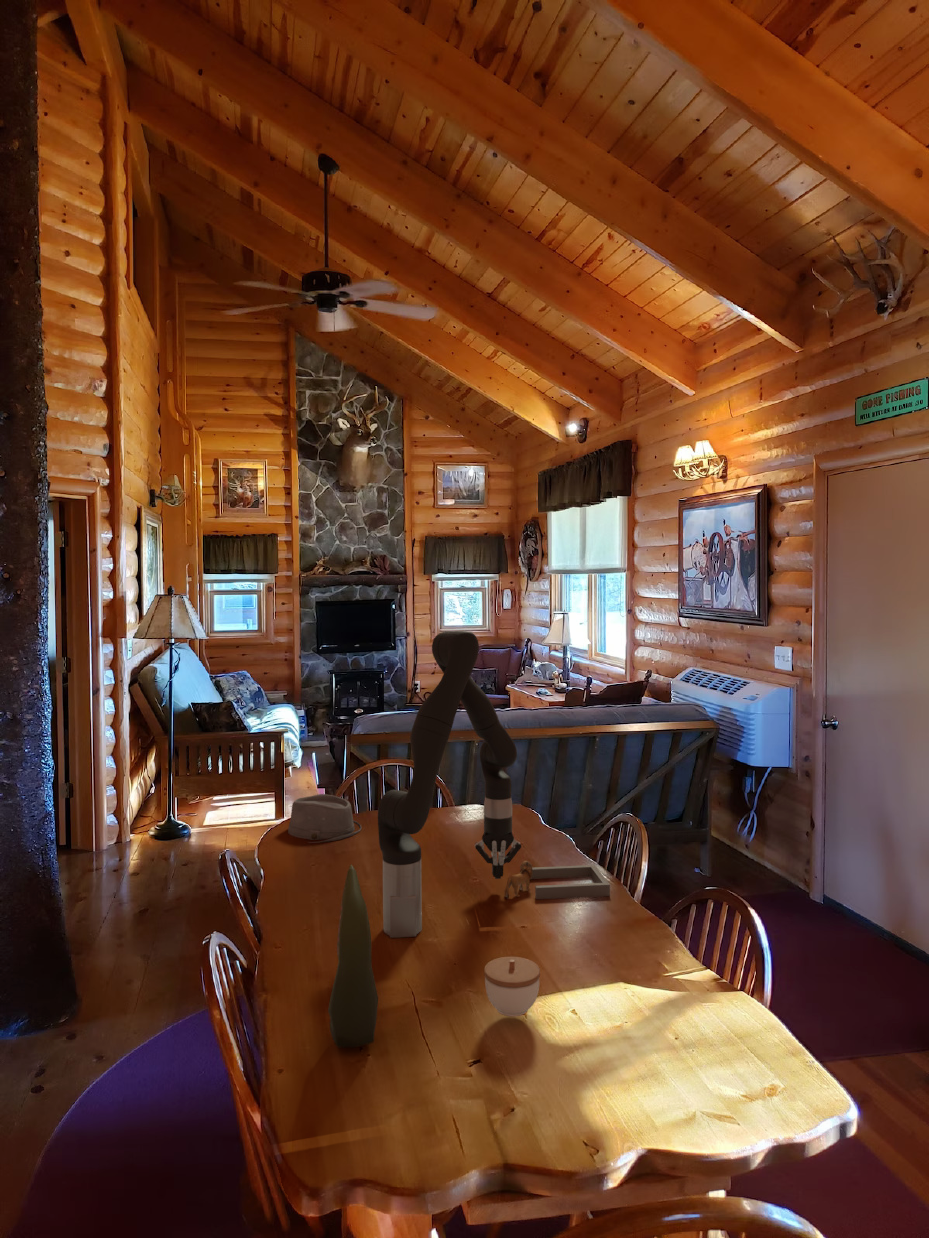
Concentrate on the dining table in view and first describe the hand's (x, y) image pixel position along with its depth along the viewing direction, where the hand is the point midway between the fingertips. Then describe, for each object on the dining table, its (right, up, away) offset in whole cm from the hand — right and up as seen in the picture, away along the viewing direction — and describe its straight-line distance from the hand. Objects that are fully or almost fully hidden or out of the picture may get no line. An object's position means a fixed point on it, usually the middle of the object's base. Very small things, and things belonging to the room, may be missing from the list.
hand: (497, 877), depth 215 cm
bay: (+18, -3, +2) cm, 18 cm away
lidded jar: (0, -6, -60) cm, 60 cm away
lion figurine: (+6, -4, -1) cm, 7 cm away
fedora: (-56, -2, +49) cm, 75 cm away
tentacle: (-29, -7, -70) cm, 76 cm away
